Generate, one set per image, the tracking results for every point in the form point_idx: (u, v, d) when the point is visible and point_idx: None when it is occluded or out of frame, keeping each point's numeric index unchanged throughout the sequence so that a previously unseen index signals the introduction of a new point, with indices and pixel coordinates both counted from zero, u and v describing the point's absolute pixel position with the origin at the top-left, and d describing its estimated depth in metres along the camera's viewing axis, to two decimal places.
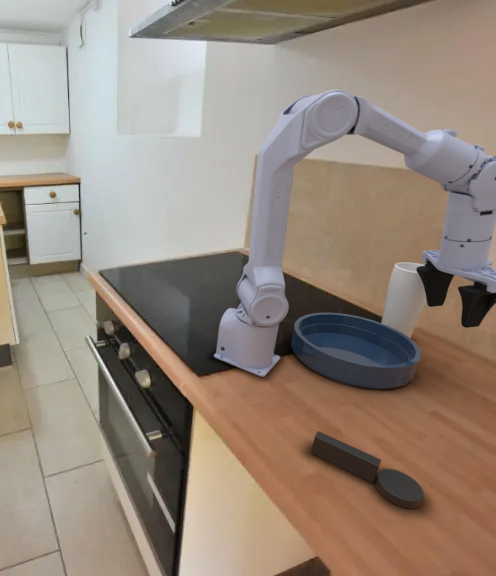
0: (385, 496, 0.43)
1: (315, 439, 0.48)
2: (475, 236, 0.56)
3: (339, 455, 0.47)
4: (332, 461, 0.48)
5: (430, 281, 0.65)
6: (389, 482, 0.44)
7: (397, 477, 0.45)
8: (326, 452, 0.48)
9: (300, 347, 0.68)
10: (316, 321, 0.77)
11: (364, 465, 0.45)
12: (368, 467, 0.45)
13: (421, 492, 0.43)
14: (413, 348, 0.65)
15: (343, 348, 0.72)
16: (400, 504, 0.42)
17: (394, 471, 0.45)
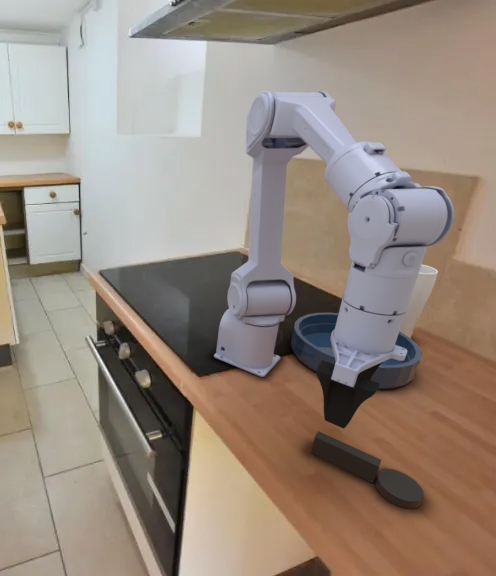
0: (385, 496, 0.43)
1: (315, 439, 0.48)
2: (346, 294, 0.41)
3: (339, 455, 0.47)
4: (332, 461, 0.48)
5: None
6: (389, 482, 0.44)
7: (397, 477, 0.45)
8: (326, 452, 0.48)
9: (300, 347, 0.68)
10: (316, 321, 0.77)
11: (364, 465, 0.45)
12: (368, 467, 0.45)
13: (421, 492, 0.43)
14: (413, 348, 0.65)
15: None
16: (400, 504, 0.42)
17: (394, 471, 0.45)
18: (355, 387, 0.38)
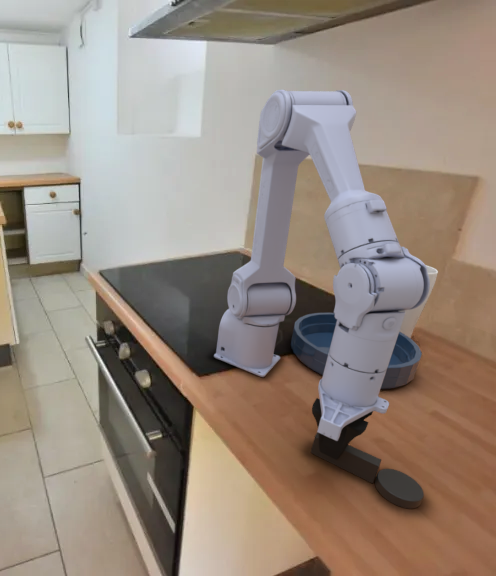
0: (385, 496, 0.43)
1: (315, 439, 0.48)
2: (332, 349, 0.43)
3: None
4: (332, 461, 0.48)
5: None
6: (389, 481, 0.44)
7: (397, 477, 0.45)
8: None
9: (300, 347, 0.68)
10: (316, 321, 0.77)
11: (364, 465, 0.45)
12: (368, 467, 0.45)
13: (421, 492, 0.43)
14: (413, 348, 0.65)
15: None
16: (400, 504, 0.42)
17: (394, 471, 0.45)
18: (346, 426, 0.43)
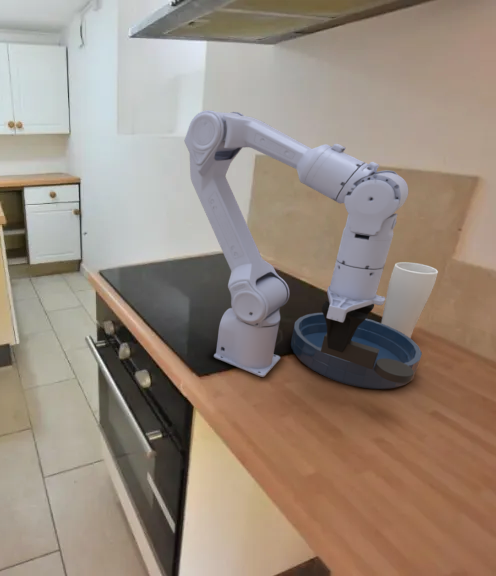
0: (382, 375, 0.53)
1: (324, 338, 0.58)
2: (348, 259, 0.51)
3: None
4: (338, 355, 0.58)
5: None
6: (386, 365, 0.54)
7: (392, 363, 0.54)
8: None
9: (300, 347, 0.68)
10: (316, 321, 0.77)
11: (365, 354, 0.55)
12: (368, 355, 0.55)
13: (412, 371, 0.52)
14: (413, 348, 0.65)
15: None
16: (394, 380, 0.52)
17: (390, 359, 0.55)
18: (350, 316, 0.53)
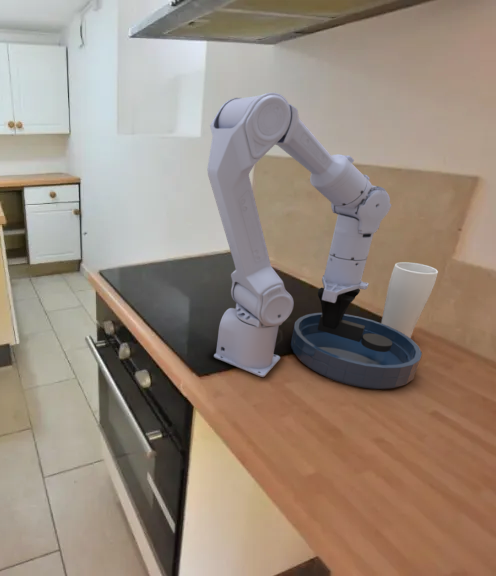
0: (367, 346, 0.66)
1: (320, 318, 0.71)
2: (357, 255, 0.63)
3: (337, 327, 0.69)
4: (332, 332, 0.70)
5: None
6: (370, 338, 0.66)
7: (375, 336, 0.67)
8: None
9: (300, 347, 0.68)
10: (316, 321, 0.77)
11: (353, 330, 0.68)
12: (356, 330, 0.67)
13: (390, 342, 0.65)
14: (413, 348, 0.65)
15: (343, 348, 0.72)
16: (377, 349, 0.65)
17: (374, 334, 0.68)
18: (340, 299, 0.65)
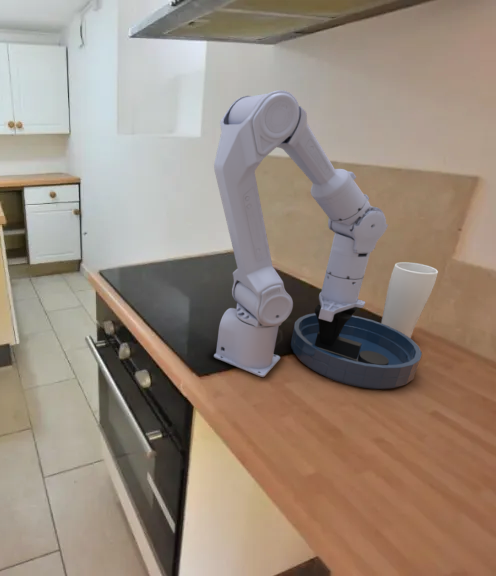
0: None
1: (318, 335, 0.71)
2: (353, 274, 0.63)
3: (334, 344, 0.70)
4: (329, 349, 0.70)
5: None
6: (367, 356, 0.67)
7: (372, 354, 0.67)
8: None
9: (300, 347, 0.68)
10: (316, 321, 0.77)
11: (350, 347, 0.68)
12: (353, 348, 0.68)
13: (387, 360, 0.65)
14: (413, 348, 0.65)
15: None
16: None
17: (370, 351, 0.68)
18: (337, 317, 0.65)
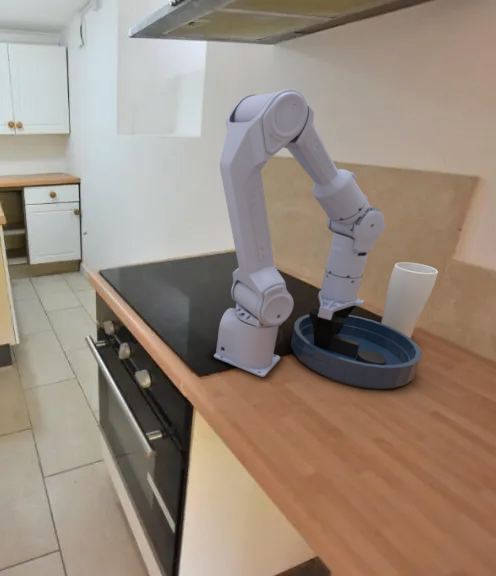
0: None
1: None
2: (352, 273, 0.64)
3: (333, 343, 0.71)
4: (328, 348, 0.72)
5: None
6: (365, 355, 0.68)
7: (370, 353, 0.68)
8: None
9: (300, 347, 0.68)
10: None
11: (349, 346, 0.69)
12: (351, 347, 0.69)
13: (385, 359, 0.66)
14: (413, 348, 0.65)
15: None
16: None
17: (369, 350, 0.69)
18: (331, 321, 0.65)
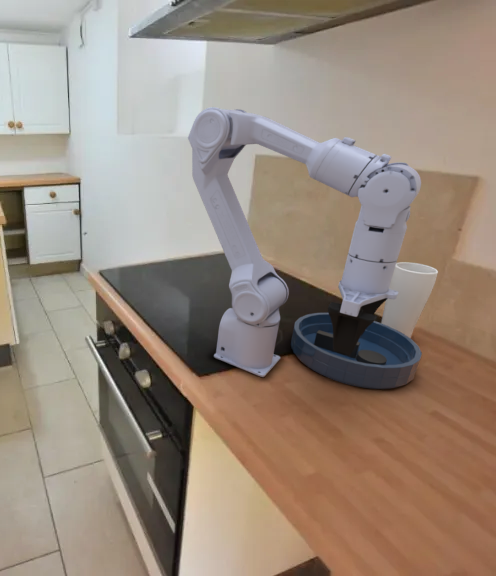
0: None
1: (317, 334, 0.72)
2: (362, 253, 0.50)
3: None
4: (328, 348, 0.72)
5: None
6: (365, 355, 0.68)
7: (370, 353, 0.68)
8: (324, 342, 0.72)
9: (300, 347, 0.68)
10: (316, 321, 0.77)
11: None
12: None
13: (385, 359, 0.66)
14: (413, 348, 0.65)
15: None
16: None
17: (369, 350, 0.69)
18: (358, 318, 0.50)
